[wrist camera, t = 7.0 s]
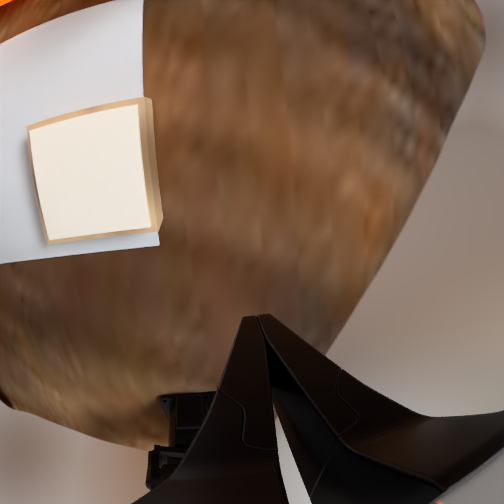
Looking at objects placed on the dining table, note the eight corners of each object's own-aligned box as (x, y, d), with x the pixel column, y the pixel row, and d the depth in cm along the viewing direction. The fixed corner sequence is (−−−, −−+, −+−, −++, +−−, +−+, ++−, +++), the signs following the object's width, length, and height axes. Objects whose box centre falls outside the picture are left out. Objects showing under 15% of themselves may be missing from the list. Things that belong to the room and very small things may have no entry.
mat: (159, 243, 21) (159, 245, 20) (-4, 262, 18) (-6, 264, 18) (143, -4, 13) (142, -6, 12) (-31, 63, 11) (-33, 63, 10)
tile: (157, 233, 17) (46, 246, 16) (163, 217, 20) (62, 230, 18) (143, 96, 14) (23, 126, 12) (151, 99, 16) (44, 123, 15)
